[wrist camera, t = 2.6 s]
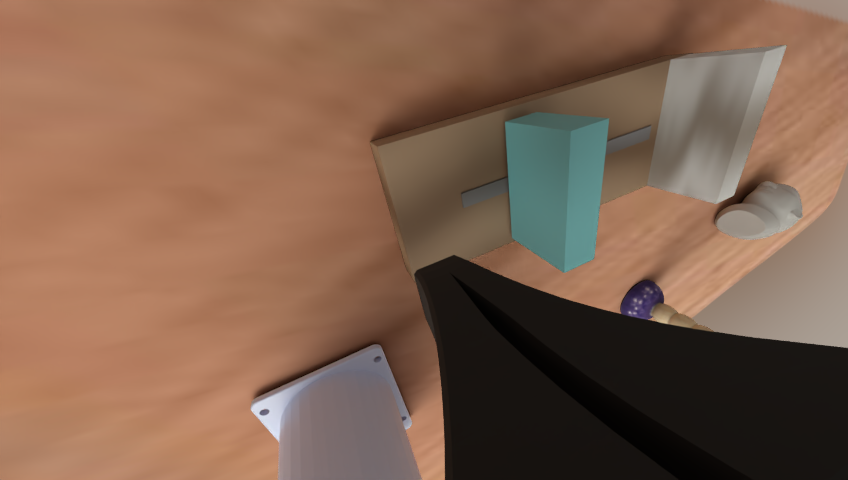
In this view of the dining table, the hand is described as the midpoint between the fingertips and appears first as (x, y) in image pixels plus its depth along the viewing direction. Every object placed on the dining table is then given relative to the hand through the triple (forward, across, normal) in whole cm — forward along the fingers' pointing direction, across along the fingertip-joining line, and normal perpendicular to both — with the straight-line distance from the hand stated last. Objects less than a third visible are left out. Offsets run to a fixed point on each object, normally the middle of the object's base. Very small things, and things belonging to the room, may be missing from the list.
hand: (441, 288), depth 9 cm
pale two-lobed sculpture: (+8, -34, +12) cm, 37 cm away
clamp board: (+8, -10, +1) cm, 13 cm away
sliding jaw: (+6, -8, +1) cm, 10 cm away
